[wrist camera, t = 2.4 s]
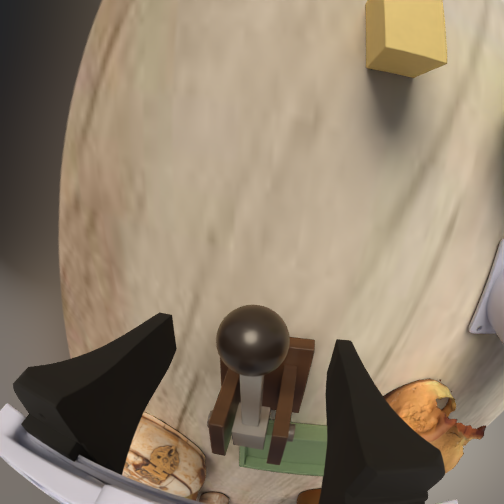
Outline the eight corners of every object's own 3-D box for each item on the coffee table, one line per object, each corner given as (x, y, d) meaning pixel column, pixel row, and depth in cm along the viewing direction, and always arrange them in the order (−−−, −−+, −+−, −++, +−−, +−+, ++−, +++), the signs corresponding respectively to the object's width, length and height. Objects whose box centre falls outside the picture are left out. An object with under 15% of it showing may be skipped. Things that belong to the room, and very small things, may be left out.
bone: (481, 373, 20) (508, 440, 13) (434, 432, 24) (445, 492, 17) (375, 366, 22) (387, 452, 14) (339, 429, 26) (336, 499, 18)
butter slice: (412, 14, 12) (440, -15, 7) (413, 78, 13) (447, 64, 9) (365, 4, 12) (380, -32, 7) (365, 68, 14) (385, 47, 9)
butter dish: (353, 426, 25) (353, 442, 24) (331, 463, 29) (331, 476, 27) (244, 415, 27) (239, 430, 25) (242, 453, 31) (239, 466, 29)
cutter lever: (225, 285, 13) (203, 338, 11) (296, 294, 13) (288, 352, 10) (234, 412, 21) (225, 447, 18) (276, 419, 20) (269, 455, 18)
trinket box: (210, 471, 35) (195, 513, 28) (119, 437, 37) (98, 474, 30) (215, 432, 30) (195, 488, 22) (102, 389, 31) (71, 433, 24)
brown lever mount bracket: (223, 326, 23) (189, 403, 16) (314, 339, 22) (309, 424, 15) (225, 391, 26) (200, 459, 19) (299, 403, 25) (290, 475, 18)
